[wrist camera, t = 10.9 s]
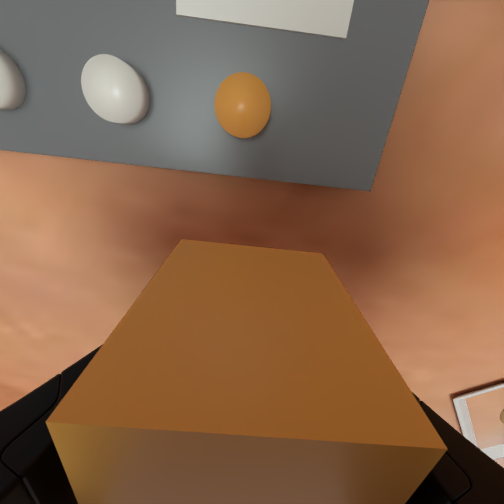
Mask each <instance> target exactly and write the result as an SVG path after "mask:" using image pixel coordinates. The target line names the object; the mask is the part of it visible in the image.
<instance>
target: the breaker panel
mask: <svg viewBox="0 0 504 504" xmlns="http://www.w3.org/2000/svg"><path fill="white" fill-rule="evenodd" d="M428 3H429V0H0V150H6V151H15V152H24V153H33V154H42V155H51V156H60V157H69V158H78V159H87V160H96V161H104V162H113V163H122V164H131V165H140V166H149V167H158V168H167V169H176V170H185V171H194V172H202V173H211V174H220V175H229V176H238V177H247V178H256V179H265V180H274V181H283V182H292V183H301V184H309V185H318V186H327V187H336V188H345V189H354V190H363V191H371V188H372V185H373V182H374V178H375V175H376V172H377V169H378V165H379V162H380V159H381V156H382V152H383V149H384V146H385V143H386V139H387V136H388V133H389V130H390V126H391V123H392V120H393V117H394V113H395V110H396V107H397V104H398V100H399V97H400V94H401V91H402V87H403V84H404V81H405V78H406V74H407V71H408V68H409V65H410V61H411V58H412V55H413V52H414V48H415V45H416V42H417V39H418V35H419V32H420V29H421V26H422V22H423V19H424V16H425V13H426V9H427V6H428Z"/></svg>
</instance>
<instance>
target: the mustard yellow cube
mask: <svg viewBox="0 0 504 504" xmlns="http://www.w3.org/2000/svg"><path fill="white" fill-rule="evenodd" d="M46 424H47V427H48V429H49V432H50V434H51V437H52V439H53V442H54V444H55V447H56V449H57V452H58V454H59V457H60V459H61V462H62V464H63V467H64V469H65V472H66V474H67V477H68V479H69V482H70V484H71V487H72V489H73V492H74V494H75V497H76V499H77V502H78V504H405V503H406V502H407V501H408V499H409V498H410V497H411V495H412V494H413V493H414V492H415V490H416V489H417V488H418V486H419V485H420V484H421V483H422V481H423V480H424V479H425V478H426V476H427V475H428V474H429V472H430V471H431V470H432V469H433V467H434V466H435V465H436V464H437V462H438V461H439V460H440V458H441V457H442V456H443V455H444V453H445V452H446V451H447V450H448V449H447V447H446V445H445V444H444V442H443V441H442V439H441V438H440V436H439V434H438V433H437V431H436V430H435V428H434V427H433V425H432V423H431V422H430V420H429V419H428V417H427V416H426V414H425V413H424V411H423V409H422V408H421V406H420V405H419V403H418V402H417V400H416V398H415V397H414V395H413V394H412V392H411V391H410V389H409V387H408V386H407V384H406V383H405V381H404V380H403V378H402V376H401V375H400V373H399V372H398V370H397V369H396V367H395V366H394V364H393V362H392V361H391V359H390V358H389V356H388V355H387V353H386V351H385V350H384V348H383V347H382V345H381V344H380V342H379V340H378V339H377V337H376V336H375V334H374V333H373V331H372V330H371V328H370V326H369V325H368V323H367V322H366V320H365V319H364V317H363V315H362V314H361V312H360V311H359V309H358V308H357V306H356V304H355V303H354V301H353V300H352V298H351V297H350V295H349V294H348V292H347V290H346V289H345V287H344V286H343V284H342V283H341V281H340V279H339V278H338V276H337V275H336V273H335V272H334V270H333V268H332V267H331V265H330V264H329V262H328V261H327V259H326V258H325V256H324V254H323V253H315V252H305V251H295V250H285V249H276V248H266V247H256V246H246V245H236V244H226V243H217V242H207V241H197V240H187V239H181V240H180V242H179V243H178V244H177V246H176V247H175V248H174V250H173V251H172V252H171V254H170V255H169V256H168V258H167V259H166V260H165V262H164V263H163V265H162V266H161V267H160V269H159V270H158V271H157V273H156V274H155V275H154V277H153V278H152V279H151V281H150V282H149V283H148V285H147V286H146V287H145V289H144V290H143V291H142V293H141V294H140V295H139V297H138V298H137V300H136V301H135V302H134V304H133V305H132V306H131V308H130V309H129V310H128V312H127V313H126V314H125V316H124V317H123V318H122V320H121V321H120V322H119V324H118V325H117V326H116V328H115V329H114V330H113V332H112V333H111V335H110V336H109V337H108V339H107V340H106V341H105V343H104V344H103V345H102V347H101V348H100V349H99V351H98V352H97V353H96V355H95V356H94V357H93V359H92V360H91V361H90V363H89V364H88V365H87V367H86V368H85V370H84V371H83V372H82V374H81V375H80V376H79V378H78V379H77V380H76V382H75V383H74V384H73V386H72V387H71V388H70V390H69V391H68V392H67V394H66V395H65V396H64V398H63V399H62V400H61V402H60V403H59V405H58V406H57V407H56V409H55V410H54V411H53V413H52V414H51V415H50V417H49V418H48V419H47V421H46Z"/></svg>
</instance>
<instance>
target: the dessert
mask: <svg viewBox="0 0 504 504" xmlns="http://www.w3.org/2000/svg"><path fill="white" fill-rule="evenodd" d="M503 387H504V382H502V383H499V384H496V385H492V386H489V387H486V388H482V389H479V390H475V391H472V392H469V393H465V394H462V395H459V396H457V397H456V398H454V399H453V402H454V406H455V409H456V413H457V416H458V419H459V423H460V426H461V430H462V433H463V436H464V437H465V438H466V439H468V440H469V441H470V442H471V443H473V444H474V445H475V446H476V447H478V445H477V442H476V438H475V434H474V430H473V427H472V423H471V419H470V415H469V411H468V408H467V404H466V400H465V398H469V397H472V396H476V395H479V394H483V393H486V392H489V391H493V390H496V389H500V388H503ZM500 420H501V421H502V422H503V423H504V409H503V411H502V412H501V414H500ZM481 451H483V452H484V453H485V454H486V455H488V456H489V457H490V458H492V459H493V460H495V459H499V458H504V444H501V445H497V446H493V447H489V448H485V449H481Z"/></svg>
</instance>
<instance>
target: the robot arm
mask: <svg viewBox="0 0 504 504" xmlns="http://www.w3.org/2000/svg"><path fill="white" fill-rule="evenodd" d="M101 347H102V345H101V346H100V347H98V348H97V349H95V350H94V351H92V352H91V353H89V354H88V355H86V356H85V357H83V358H82V359H80V360H79V361H77V362H76V363H74V364H73V365H71V366H70V367H68V368H67V369H65V370H64V371H62V373H61V374H58V375H56V376H55V377H53V378H52V379H50V380H49V381H47V382H46V383H44V384H43V385H41V386H40V387H38V388H36V389H35V390H33V391H32V392H30V393H29V394H27V395H26V396H24V397H23V398H21V399H19V400H18V401H16V402H15V403H13V404H11V405H10V406H8V407H6V408H5V409H3V410H1V411H0V504H78V502H77V499H76V497H75V494H74V492H73V489H72V487H71V484H70V482H69V479H68V477H67V474H66V472H65V469H64V467H63V464H62V462H61V459H60V457H59V454H58V452H57V449H56V447H55V444H54V442H53V439H52V437H51V434H50V432H49V429H48V427H47V424H46V421H47V419H48V418H49V417H50V415H51V414H52V413H53V411H54V410H55V409H56V407H57V406H58V405H59V403H60V402H61V400H62V399H63V398H64V396H65V395H66V394H67V392H68V391H69V390H70V388H71V387H72V386H73V384H74V383H75V382H76V380H77V379H78V378H79V376H80V375H81V374H82V372H83V371H84V370H85V368H86V367H87V365H88V364H89V363H90V361H91V360H92V359H93V357H94V356H95V355H96V353H97V352H98V351H99V349H100V348H101ZM412 394H413V395H414V397H415V398H416V400H417V402H418V403H419V405H420V406H421V408H422V409H423V411H424V413H425V414H426V416H427V417H428V419H429V420H430V422H431V423H432V425H433V427H434V428H435V430H436V431H437V433H438V434H439V436H440V438H441V439H442V441H443V442H444V444H445V445H446V447H447V449H448V450H447V451H446V452H445V453H444V455H443V456H442V457H441V458H440V460H439V461H438V462H437V464H436V465H435V466H434V467H433V469H432V470H431V471H430V472H429V474H428V475H427V476H426V478H425V479H424V480H423V481H422V483H421V484H420V485H419V486H418V488H417V489H416V490H415V492H414V493H413V494H412V495H411V497H410V498H409V499H408V501H407V502H406V503H405V504H504V468H503V467H502V466H500V465H499V464H498V463H497V462H495V461H494V460H493V459H492V458H490V457H489V456H488V455H486V454H485V453H484V452H483V451H481V450H480V449H479V448H478V447H476V446H475V445H474V444H473V443H471V442H470V441H469V440H468V439H466V438H465V437H464V436H463V435H462V434H460V433H459V432H458V431H457V430H455V429H454V428H453V427H452V426H451V425H450V424H448V423H447V422H446V421H445V420H444V419H442V418H441V417H440V416H439V415H438V414H437V413H435V412H434V411H433V410H432V409H431V408H430V407H429V406H427V405H426V404H425V403H424V402H423V401H420V399H419V398H418V397H417V396H416V395H415V394H414V393H412Z"/></svg>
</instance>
